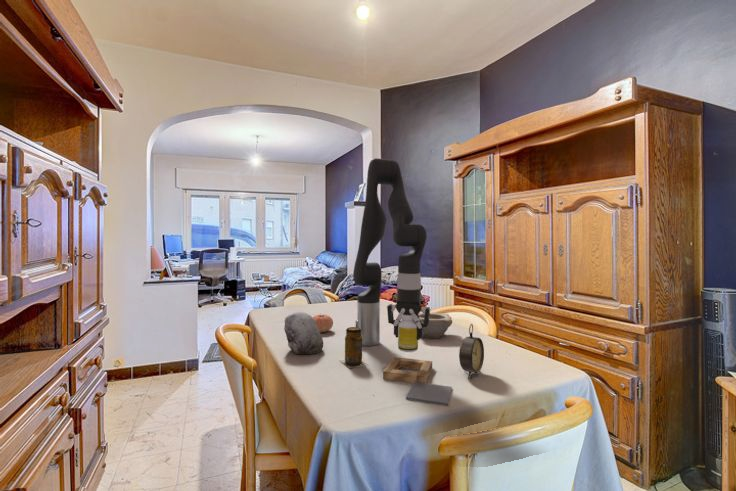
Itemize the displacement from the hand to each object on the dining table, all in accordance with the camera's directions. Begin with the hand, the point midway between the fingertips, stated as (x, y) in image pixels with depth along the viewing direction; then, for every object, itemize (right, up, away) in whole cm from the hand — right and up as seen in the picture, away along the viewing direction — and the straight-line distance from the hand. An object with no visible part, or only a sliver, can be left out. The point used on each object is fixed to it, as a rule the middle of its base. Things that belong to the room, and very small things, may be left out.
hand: (408, 337), depth 118 cm
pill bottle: (0, -4, 0) cm, 4 cm away
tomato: (-34, -10, +51) cm, 63 cm away
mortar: (+16, -10, +44) cm, 48 cm away
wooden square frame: (0, -11, 0) cm, 12 cm away
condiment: (-18, -11, +9) cm, 23 cm away
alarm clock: (+20, -12, -1) cm, 23 cm away
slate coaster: (+4, -12, -15) cm, 20 cm away
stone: (-38, -11, +23) cm, 45 cm away
